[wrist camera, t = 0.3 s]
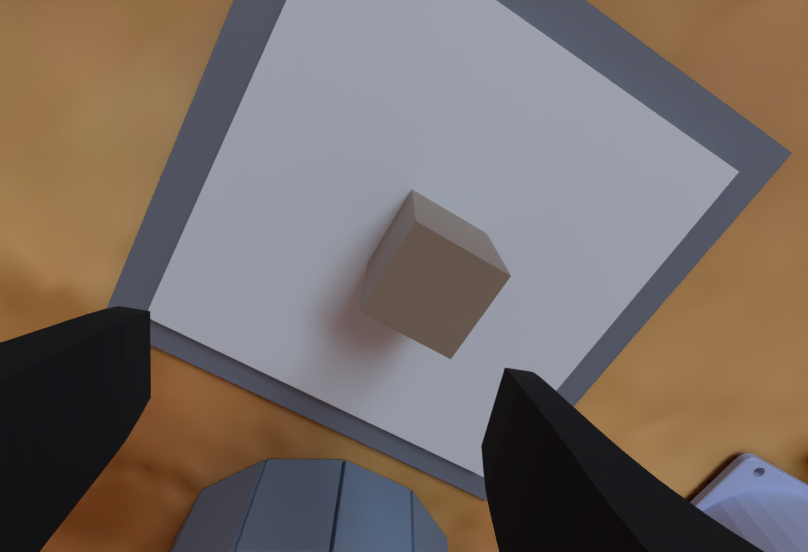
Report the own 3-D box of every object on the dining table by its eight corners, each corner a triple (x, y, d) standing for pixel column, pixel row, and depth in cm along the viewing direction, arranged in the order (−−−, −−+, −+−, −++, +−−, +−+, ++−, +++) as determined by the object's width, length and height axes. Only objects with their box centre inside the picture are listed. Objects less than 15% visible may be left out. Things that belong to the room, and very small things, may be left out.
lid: (728, 168, 17) (839, 198, 13) (482, 467, 21) (502, 562, 17) (339, -105, 14) (312, -188, 10) (152, 309, 19) (78, 377, 14)
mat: (783, 151, 17) (791, 153, 17) (489, 495, 23) (490, 502, 22) (318, -191, 13) (315, -199, 13) (107, 317, 19) (101, 322, 19)
